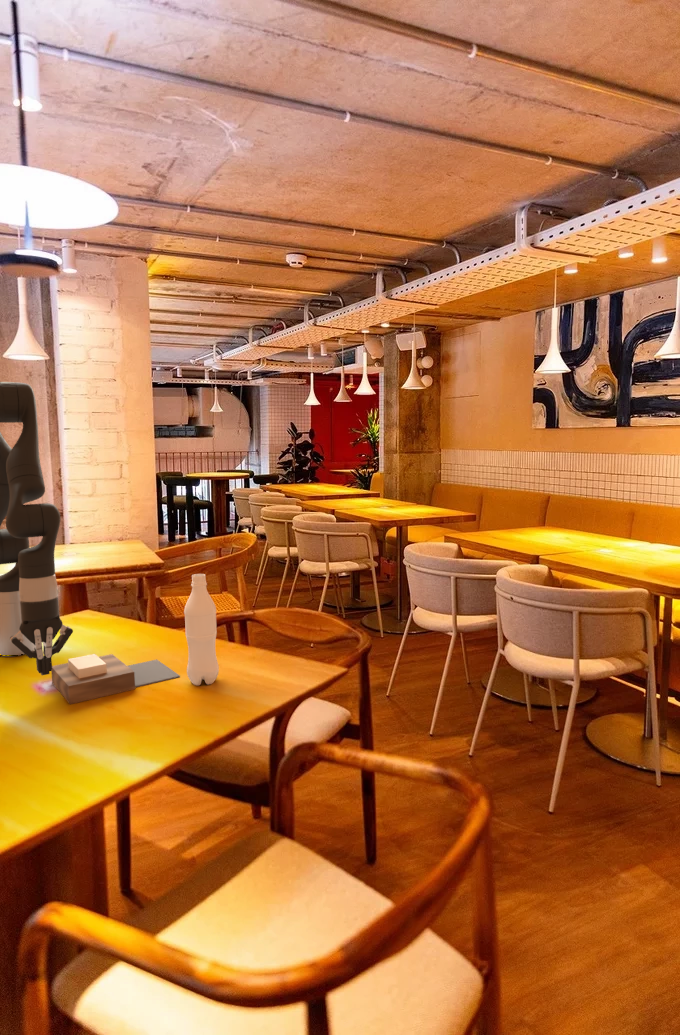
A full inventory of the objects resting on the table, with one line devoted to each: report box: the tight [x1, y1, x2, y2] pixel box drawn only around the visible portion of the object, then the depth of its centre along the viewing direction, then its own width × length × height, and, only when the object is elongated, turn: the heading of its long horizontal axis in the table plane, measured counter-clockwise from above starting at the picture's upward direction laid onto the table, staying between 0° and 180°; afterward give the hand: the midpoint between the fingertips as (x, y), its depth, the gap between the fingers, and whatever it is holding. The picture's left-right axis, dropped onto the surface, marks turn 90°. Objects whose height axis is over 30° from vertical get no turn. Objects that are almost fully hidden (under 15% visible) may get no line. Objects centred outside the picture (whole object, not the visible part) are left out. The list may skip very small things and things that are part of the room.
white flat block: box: [67, 653, 107, 678], centre depth 150 cm, size 9×6×2 cm, turn 36°
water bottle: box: [183, 573, 220, 686], centre depth 151 cm, size 7×7×25 cm
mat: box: [127, 659, 181, 688], centre depth 158 cm, size 15×11×1 cm
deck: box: [50, 653, 136, 705], centre depth 151 cm, size 16×14×4 cm
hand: (44, 673), depth 144 cm, fingers closed
